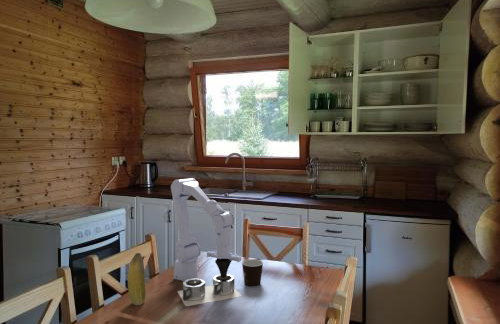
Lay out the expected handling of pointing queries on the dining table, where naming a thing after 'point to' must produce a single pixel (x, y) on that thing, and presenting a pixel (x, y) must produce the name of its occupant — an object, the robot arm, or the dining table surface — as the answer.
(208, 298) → the serving board
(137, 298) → the vegetable
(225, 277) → the cylinder
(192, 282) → the near plunger
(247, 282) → the coffee mug
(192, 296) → the near pot
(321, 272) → the dining table surface
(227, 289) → the far pot
